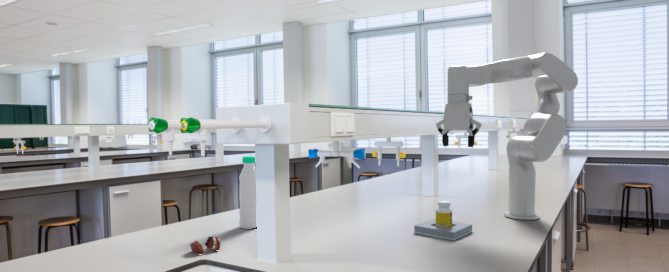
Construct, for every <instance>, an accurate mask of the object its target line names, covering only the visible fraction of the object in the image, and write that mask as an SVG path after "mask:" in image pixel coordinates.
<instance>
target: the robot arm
mask: <svg viewBox="0 0 669 272" xmlns="http://www.w3.org/2000/svg"><path fill="white" fill-rule="evenodd" d="M535 77H536V79H535V81H534V86H535V87H534V88H535V90H536V94H537V102H536V104H535V107H534V108H533V109H532V111H531V113H530V114H529V116H528V118H527V119H526V120H525V123H524V124H523V129H522V130H523V132H524V134H525V135H516V136H513V137H511V138H510V139H509V140H508V142H507V144H506V155H507V161H508V210H506V211H504V213H503V215H504V217H506V218H509V219H513V220H521V221H525V220H526V221H533V220H538V219H539V218H540V214H539V213H537V212H536V168H535V165H534V163H543V162H546V161H547V160H549V159H550V158H551V157H552V156H553V154H554V152H556V149H557V148H558V146H559V144H560V143H561V141H562V140H563V138H564V137H565V134H566V132H567V122H566V119H565V118H564V116H562V115H560V114H559V112H560V108H561V105H560V101H559V98H558V94H561V93H568V92H569V93H570V92H572V91H574V90H575V89H576V88H577V86H578V84H579V78H578V76H577V73H576V72H575V71H574V70H573V69H572V68H571V67H570V66H569V65H567V63H565V62H564V61H562V59H560V58H559V57H558V56H556V55H554V54H553V53H550V52H541V53H536V54H529V55H525V56H524V55H523V56H518V57H514V58H506V59H501V60H498V61H494V62H491V63H486V64H481V65H480V64H479V65H478V64H477V65H468V66H467V65H461V64H460V65H459V64H458V65H451V66H449V67H448V69H447V103H445V105H444V106H445V107H444V113H443V119H442V120H440V121H438V122H436V123H435V127H436V128H437V131H438V133H440V135H441V137H442V138H441V139H442V146H443V147H449V142H450V140H449V137H450V135H448V134H449V132H451V131H465V132H467V134H468V135H467V147H468V148H472V147H474V145H475V136H476V134H478V133H479V131H480V129H481V128H482V124H483V123H481V122H479V121H477V120H476V119H474V112H473V105H472V103H471V102H470V101H471V100H473V96H472V95H470V88H473V87H481V86H486V85H488V84H489V85H490V84H500V83H501V84H502V83H508V82H515V81H518V80H524V79H525V80H526V79H529V78H535ZM442 126H443V128H442ZM474 126H475V128H474Z"/></svg>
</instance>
